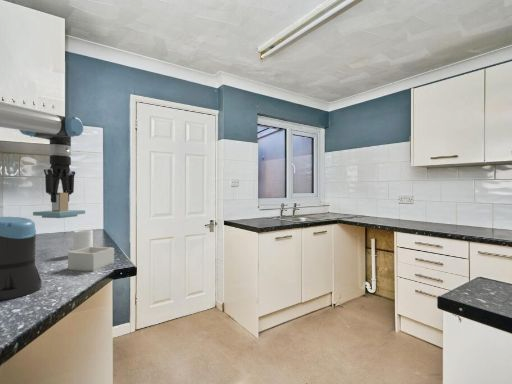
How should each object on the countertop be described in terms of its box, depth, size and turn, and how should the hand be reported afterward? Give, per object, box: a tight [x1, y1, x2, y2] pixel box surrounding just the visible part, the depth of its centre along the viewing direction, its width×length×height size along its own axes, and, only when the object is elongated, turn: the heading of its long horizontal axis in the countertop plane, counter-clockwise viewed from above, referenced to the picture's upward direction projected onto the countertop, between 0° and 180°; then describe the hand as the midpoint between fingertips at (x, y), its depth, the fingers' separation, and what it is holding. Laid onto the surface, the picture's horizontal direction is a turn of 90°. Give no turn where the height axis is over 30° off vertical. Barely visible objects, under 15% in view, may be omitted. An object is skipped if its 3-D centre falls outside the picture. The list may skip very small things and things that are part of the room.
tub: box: [67, 246, 115, 272], centre depth 118 cm, size 12×12×7 cm
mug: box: [64, 229, 94, 251], centre depth 139 cm, size 12×8×12 cm
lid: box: [32, 192, 86, 219], centre depth 120 cm, size 13×13×10 cm
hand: (60, 209), depth 120 cm, fingers closed on lid, 4 cm apart
